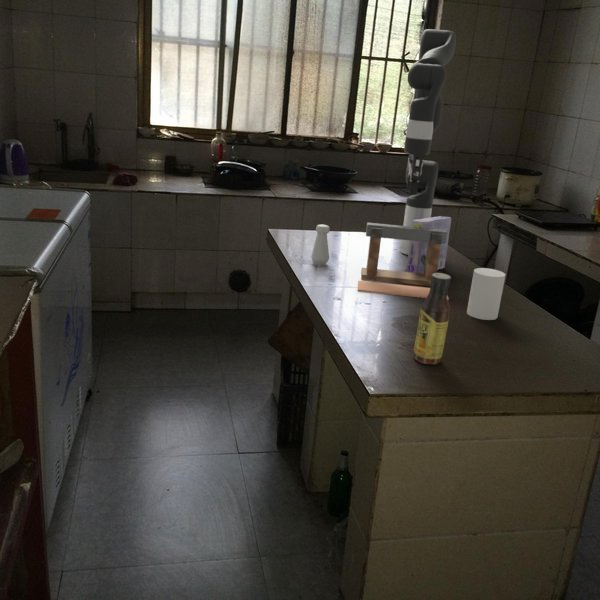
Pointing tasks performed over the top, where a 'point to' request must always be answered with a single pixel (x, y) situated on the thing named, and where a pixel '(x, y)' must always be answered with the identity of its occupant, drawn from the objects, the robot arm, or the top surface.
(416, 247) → the cake pan box
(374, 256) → the rack
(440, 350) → the sauce bottle
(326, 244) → the salt shaker
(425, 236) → the rail
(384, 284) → the mat
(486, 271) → the cup
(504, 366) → the top surface
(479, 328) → the top surface
